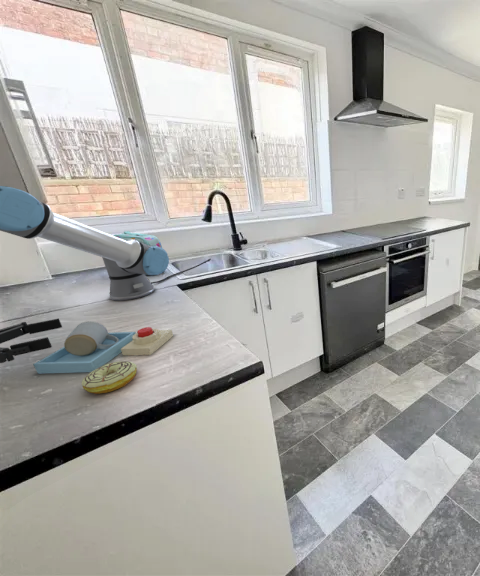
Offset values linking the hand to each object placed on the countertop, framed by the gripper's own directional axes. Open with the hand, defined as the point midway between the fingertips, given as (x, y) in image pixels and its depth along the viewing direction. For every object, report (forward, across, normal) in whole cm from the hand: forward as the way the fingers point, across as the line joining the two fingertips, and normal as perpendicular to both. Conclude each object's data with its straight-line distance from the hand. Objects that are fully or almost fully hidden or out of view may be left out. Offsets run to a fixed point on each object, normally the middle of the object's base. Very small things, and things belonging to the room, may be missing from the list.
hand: (55, 332), depth 85 cm
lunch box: (+18, -88, -9) cm, 90 cm away
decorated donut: (+12, +21, -9) cm, 26 cm away
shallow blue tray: (+6, +2, -9) cm, 11 cm away
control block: (+19, +5, -9) cm, 22 cm away
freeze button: (+19, +5, -5) cm, 20 cm away
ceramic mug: (+7, 0, -8) cm, 10 cm away
